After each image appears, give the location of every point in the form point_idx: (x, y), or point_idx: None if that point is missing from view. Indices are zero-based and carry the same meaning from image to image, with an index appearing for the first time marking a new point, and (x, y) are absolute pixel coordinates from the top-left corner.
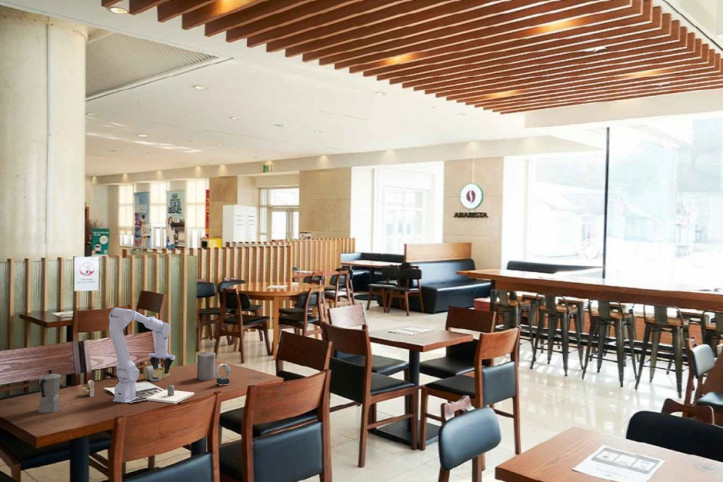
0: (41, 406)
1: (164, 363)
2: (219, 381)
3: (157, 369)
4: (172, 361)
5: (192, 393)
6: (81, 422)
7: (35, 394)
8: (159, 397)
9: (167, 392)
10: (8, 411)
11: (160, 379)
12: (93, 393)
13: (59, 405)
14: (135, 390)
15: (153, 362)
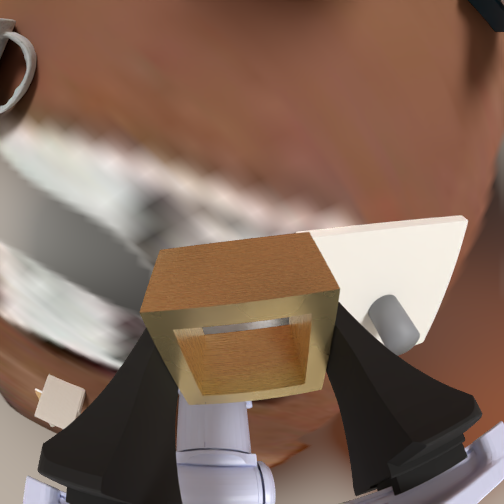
0: None
1: (354, 454)
2: (494, 11)
3: (191, 366)
4: (451, 395)
5: (463, 235)
6: (267, 456)
7: (5, 392)
8: None
9: (343, 284)
10: None
11: (32, 45)
12: (83, 398)
13: None
14: (242, 409)
15: (173, 473)
